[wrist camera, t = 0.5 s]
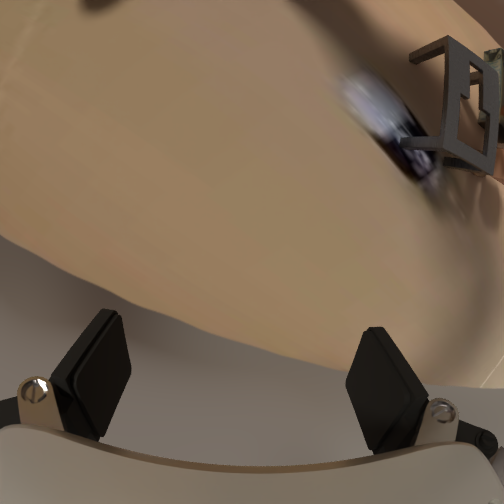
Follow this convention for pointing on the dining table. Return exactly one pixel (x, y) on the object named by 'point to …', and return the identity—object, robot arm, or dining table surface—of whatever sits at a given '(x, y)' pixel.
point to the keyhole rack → (454, 88)
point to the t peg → (496, 166)
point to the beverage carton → (499, 62)
